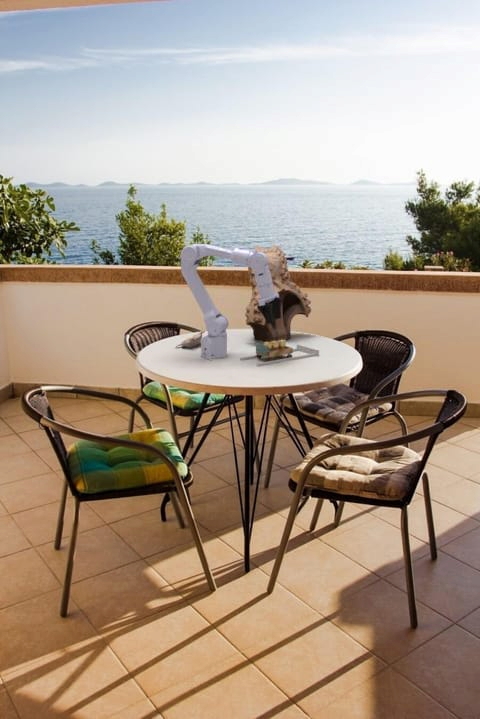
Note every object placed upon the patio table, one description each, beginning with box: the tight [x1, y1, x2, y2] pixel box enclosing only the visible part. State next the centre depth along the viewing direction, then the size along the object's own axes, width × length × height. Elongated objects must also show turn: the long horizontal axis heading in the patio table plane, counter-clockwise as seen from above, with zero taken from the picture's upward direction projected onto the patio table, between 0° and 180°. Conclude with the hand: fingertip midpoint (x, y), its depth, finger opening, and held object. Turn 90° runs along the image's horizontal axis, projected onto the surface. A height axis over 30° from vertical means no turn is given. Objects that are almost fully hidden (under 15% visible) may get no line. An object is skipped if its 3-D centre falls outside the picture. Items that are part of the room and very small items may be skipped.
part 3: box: [278, 339, 287, 350], centre depth 250 cm, size 3×3×4 cm
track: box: [239, 343, 320, 367], centre depth 251 cm, size 29×12×3 cm, turn 126°
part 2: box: [271, 340, 279, 351], centre depth 248 cm, size 3×3×4 cm
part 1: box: [263, 341, 272, 352], centre depth 246 cm, size 3×3×4 cm
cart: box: [255, 342, 294, 361], centre depth 249 cm, size 12×9×6 cm
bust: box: [244, 244, 312, 342], centre depth 281 cm, size 34×18×40 cm, turn 130°
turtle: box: [175, 329, 206, 348], centre depth 271 cm, size 16×10×10 cm, turn 1°
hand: (274, 320), depth 245 cm, fingers open, 7 cm apart
